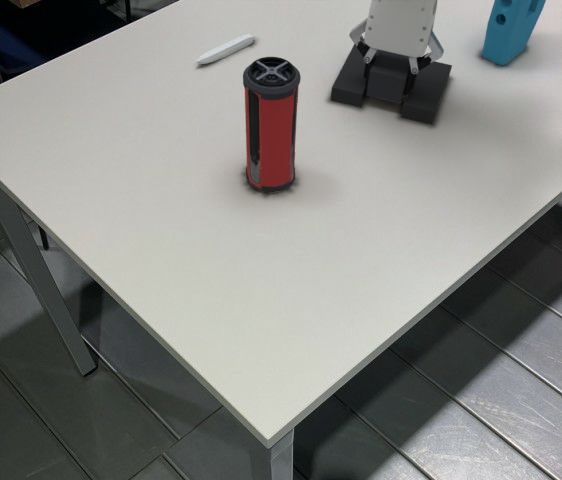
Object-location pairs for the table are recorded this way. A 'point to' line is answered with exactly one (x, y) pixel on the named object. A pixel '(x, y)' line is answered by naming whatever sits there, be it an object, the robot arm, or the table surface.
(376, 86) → the plug pad
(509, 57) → the block
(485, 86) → the table surface
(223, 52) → the pen
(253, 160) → the speaker
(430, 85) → the base pad
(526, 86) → the table surface
